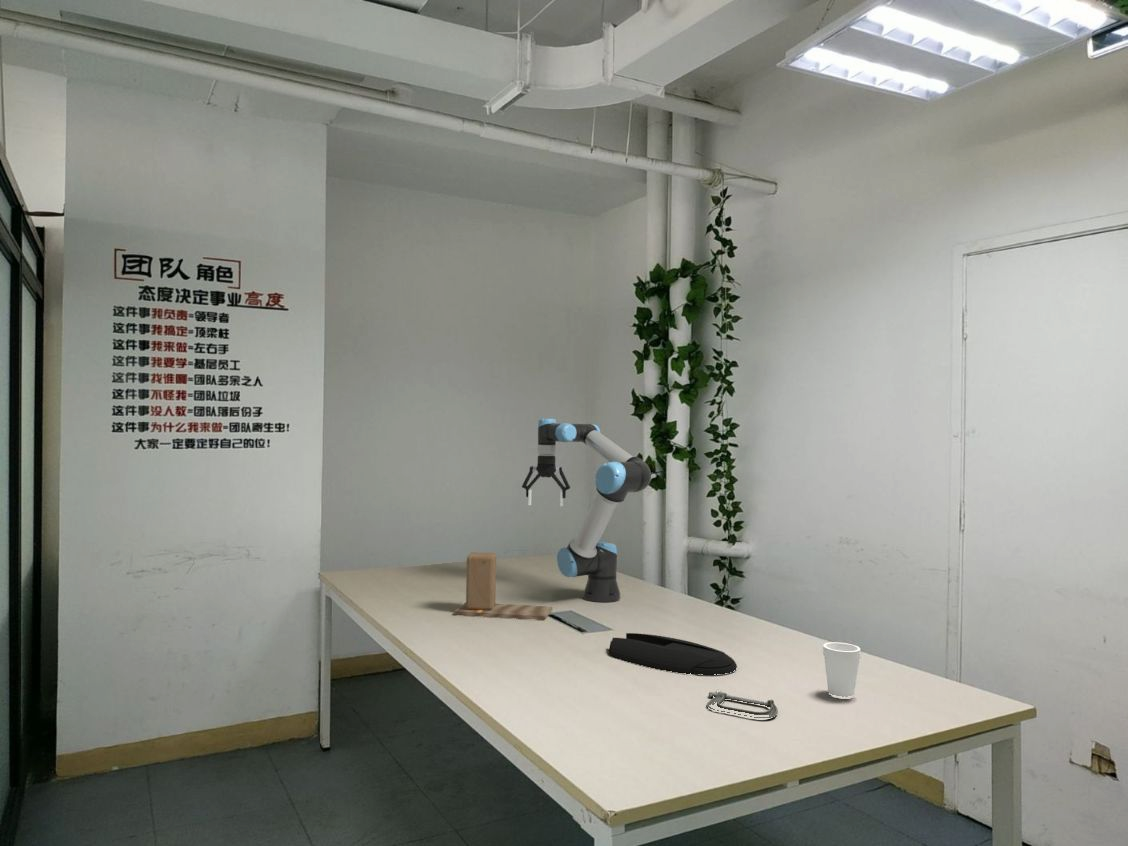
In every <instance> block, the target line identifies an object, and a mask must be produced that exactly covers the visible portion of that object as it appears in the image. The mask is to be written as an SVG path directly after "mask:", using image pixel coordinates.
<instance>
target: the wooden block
mask: <svg viewBox="0 0 1128 846" xmlns="http://www.w3.org/2000/svg"><path fill="white" fill-rule="evenodd" d="M465 585H466V589H465V593H466V594H465V603H466V608H467V609H470V610H491V609H492V608H493V606H494V605H495V604H496V593H497V591H496V590H497V589H496V588H497V586H496V585H497V554H496V553H495V552H482V551H481V552H479V551H477V552H474V551H473V552H470V553H469V555H467V558H466V583H465Z"/></svg>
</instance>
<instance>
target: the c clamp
mask: <svg viewBox="0 0 1128 846" xmlns="http://www.w3.org/2000/svg"><path fill="white" fill-rule="evenodd" d="M713 696H714V697H715V698H710V697H713ZM708 698H710V700H709V701H708V702H707V703H706V707H707V706H708V707H709V708H710V709H713V708H711V707H710V706H709V705H711V704H712V705H714V704H715V703H716V702H717V706H718V707H720V708H724V709H728V710H734V711H738V712H745V713H749V714H754V715H769V717H754V718H771V717H774V716H776V717H777V715H778V712H779V709H778V707H777V706H776V705H775V702H774V700H773V699H768V700H767V701H762V700H761V701H760V700H756V699H752V698H751V699H750V698H746V697H740V696H735V695H729V694H727V693H726V692H722V691H720V692H718V693H717V690H715V691H709V692H708ZM725 699H731V700H737V701H743V702H747V703H754V704H760V705H765V706H767V707H770V709H769V710H768V709H767V710H766V711H753V710H748V709H741V708H737V707H731V706H726V705H723V704H722V705H720V704H721V703H722V702H723V701H724V700H725ZM725 701H726V700H725ZM725 701H724V702H725ZM714 702H715V703H714ZM713 710H715V709H713ZM717 711H719V710H717ZM721 712H725V711H721ZM727 713H730V712H727ZM734 714H736V713H734ZM776 714H777V715H776ZM738 715H741V714H738ZM744 716H747V715H744ZM750 717H752V716H750Z"/></svg>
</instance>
